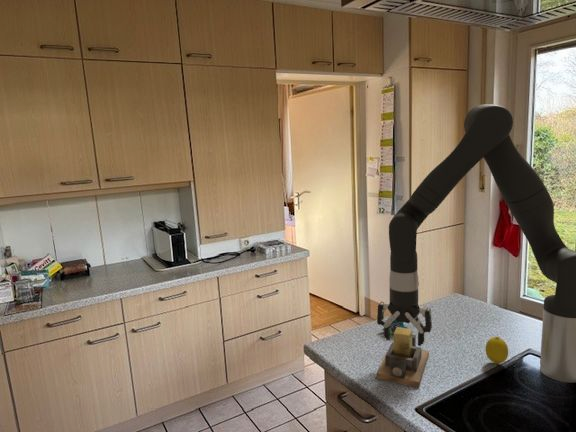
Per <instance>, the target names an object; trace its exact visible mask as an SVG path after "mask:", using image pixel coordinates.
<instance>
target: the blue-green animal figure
mask: <svg viewBox="0 0 576 432" xmlns="http://www.w3.org/2000/svg"><path fill="white" fill-rule="evenodd" d="M404 323H405V322H397V320H394V321H393V322H392V323H391V324H390V335H392V334H394V331H392V327H395V326H399V325H400V327H401V328H406V327H405V325H404Z"/></svg>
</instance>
